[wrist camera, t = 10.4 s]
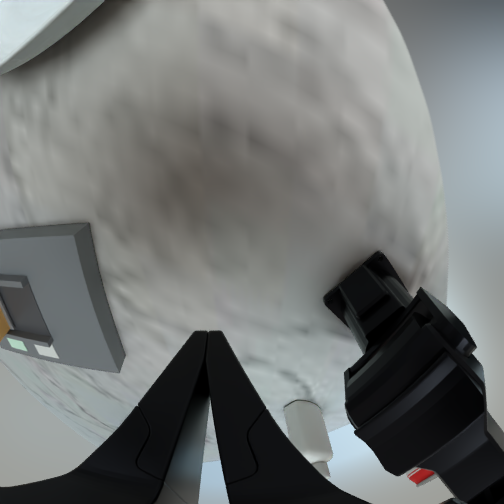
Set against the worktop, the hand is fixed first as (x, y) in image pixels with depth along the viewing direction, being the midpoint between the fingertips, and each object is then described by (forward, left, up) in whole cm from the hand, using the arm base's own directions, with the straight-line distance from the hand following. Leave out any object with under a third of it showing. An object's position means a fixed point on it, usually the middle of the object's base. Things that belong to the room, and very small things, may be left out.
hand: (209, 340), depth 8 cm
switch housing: (+9, +19, -12) cm, 24 cm away
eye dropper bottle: (-24, +11, -12) cm, 29 cm away
